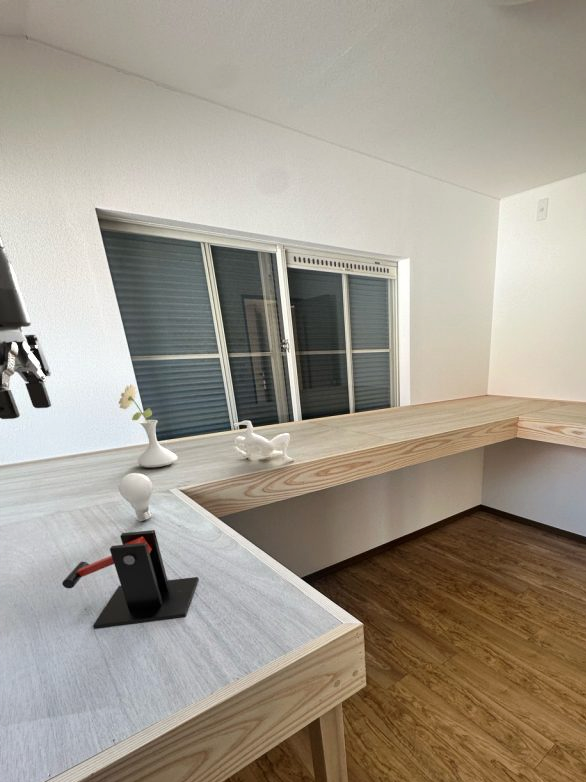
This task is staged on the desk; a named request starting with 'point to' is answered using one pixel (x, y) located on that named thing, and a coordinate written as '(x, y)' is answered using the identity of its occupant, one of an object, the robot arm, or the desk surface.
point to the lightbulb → (137, 493)
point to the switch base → (144, 585)
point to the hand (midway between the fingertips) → (27, 412)
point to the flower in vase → (154, 452)
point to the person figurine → (261, 443)
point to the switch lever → (94, 566)
